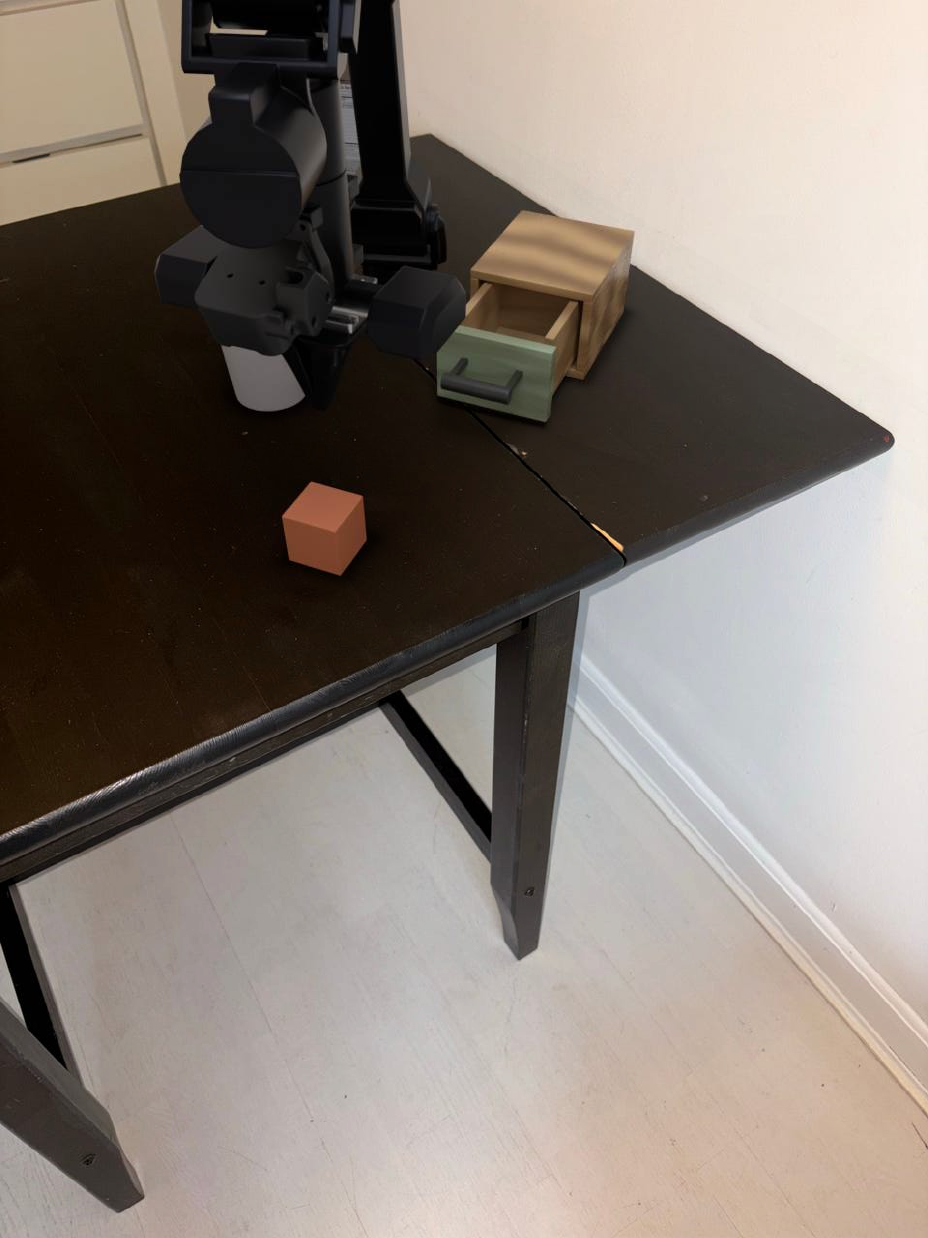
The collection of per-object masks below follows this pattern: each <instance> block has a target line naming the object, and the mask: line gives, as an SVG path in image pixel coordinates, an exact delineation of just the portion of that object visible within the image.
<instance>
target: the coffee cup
mask: <svg viewBox="0 0 928 1238" xmlns="http://www.w3.org/2000/svg"><path fill="white" fill-rule="evenodd" d="M200 225H201V224H200ZM201 226H202V225H201ZM220 346H221V350H222V352H223V355H224V356H223V357H224V360H225V363H226V366H227V369H228V373H229V376H230V377H229V378H230V380H231V383H232V387H233V390H234V394H235V396H236V399H237V401H238V402H239V403H240V404H241V405H242V406H244V407H245V408H248V409H250V410H254V411H258V412H277V411H281V410H286V409H289V408H292V407H293V406H295V405H297V404H299V403H300V402H301V401H302V400H303V399H304V398H306V396H305V394H304V393H303V391H302V389H301V387H300V385H299V384H298V382H297V380H296V378H295V376H294V375H293V373H292V371H291V369H290V367H289V366H288V364H287V362H286V360H285V359H284V357H283V356H282V354H281V355H278V356H271V357H270V356H264V355H261V354H259V353H258V352H256V351H252V350H248V349H244V348H239V347H235V346H231V347H226V346H222V345H220Z"/></svg>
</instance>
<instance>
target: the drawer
mask: <svg viewBox="0 0 928 1238" xmlns="http://www.w3.org/2000/svg"><path fill="white" fill-rule="evenodd" d="M583 302H584V301H580V300H576V299H571V298H566V297H561V296H557V295H552V294H547V293H542V292H537V291H533V290H528V289H523V288H518V287H514V286H509V285H504V284H499V283H494V282H490V281H485V283H484V284H483V285H482V286H481V287H480V289H479V290H478V291H477V292H476V293H475V295H474V296H473V297H472V298H471V299H470V298H469V300H468V302H466V318H465V319H464V320H463V322H462V323H461V324H460V325H459V327H458V328H457V329H456V330H455V331H454V333H453V334H452V335H451V336H450V338H449V339H448V340H447V341H446V342H445V344H444V345H443V346H442V347H441V349H440V350H439V351H438V352H437V353H436V395H437V396H438V397H442V398H445V399H450V400H453V401H457V402H462V403H465V404H470V405H474V406H478V407H483V408H487V409H490V410H493V411H494V410H495V411H499V412H503V413H507V414H511V415H515V416H519V417H523V418H527V419H531V420H534V421H538V422H542V423H547V421H548V420H549V418H550V416H551V411H552V402H553V401H552V399H553V395H554V394H555V392H556V391H557V389H558V387H559V385H560V384H561V383H562V381H563V379H564V377H566V376H565V374H566V373H567V371H568V370H569V368H570V366H571V365H572V363H573V362H574V360H575V358H576V357H577V355H578V348H579V338H580V329H581V320H582V311H583Z"/></svg>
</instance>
